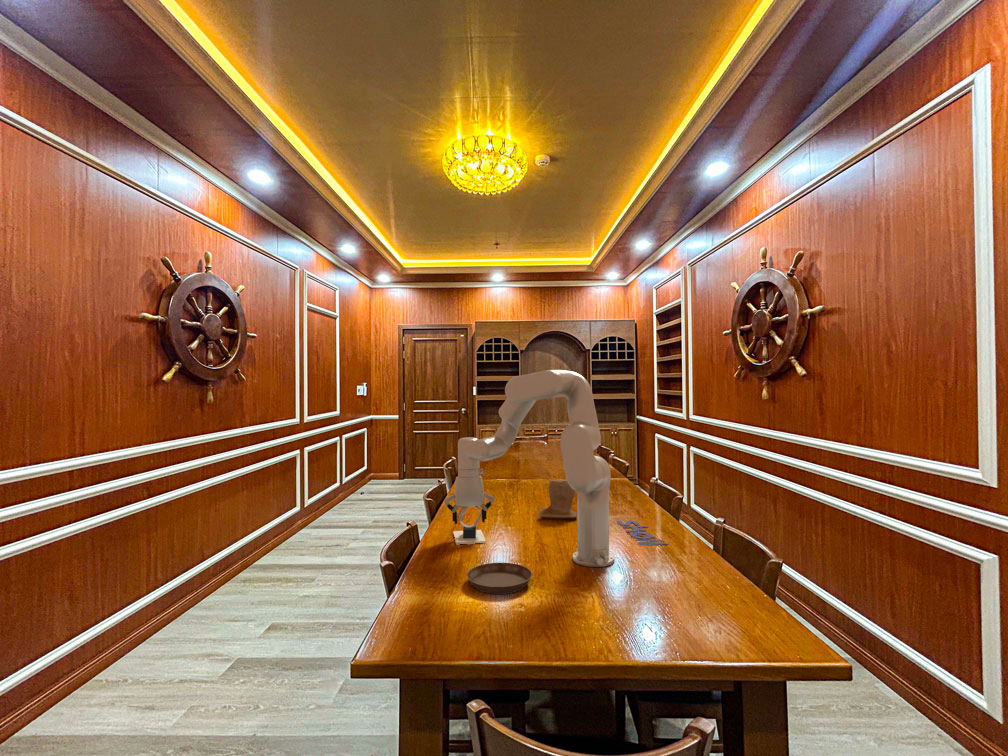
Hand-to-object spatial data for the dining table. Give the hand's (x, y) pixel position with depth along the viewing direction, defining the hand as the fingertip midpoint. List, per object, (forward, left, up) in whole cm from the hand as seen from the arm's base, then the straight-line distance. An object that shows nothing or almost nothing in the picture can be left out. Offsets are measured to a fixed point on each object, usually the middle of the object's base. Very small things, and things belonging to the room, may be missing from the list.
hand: (469, 522), depth 176 cm
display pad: (0, 0, -6) cm, 6 cm away
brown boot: (+21, -38, -6) cm, 44 cm away
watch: (0, 0, -5) cm, 5 cm away
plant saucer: (-40, -4, -6) cm, 41 cm away
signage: (-5, -61, -6) cm, 62 cm away
